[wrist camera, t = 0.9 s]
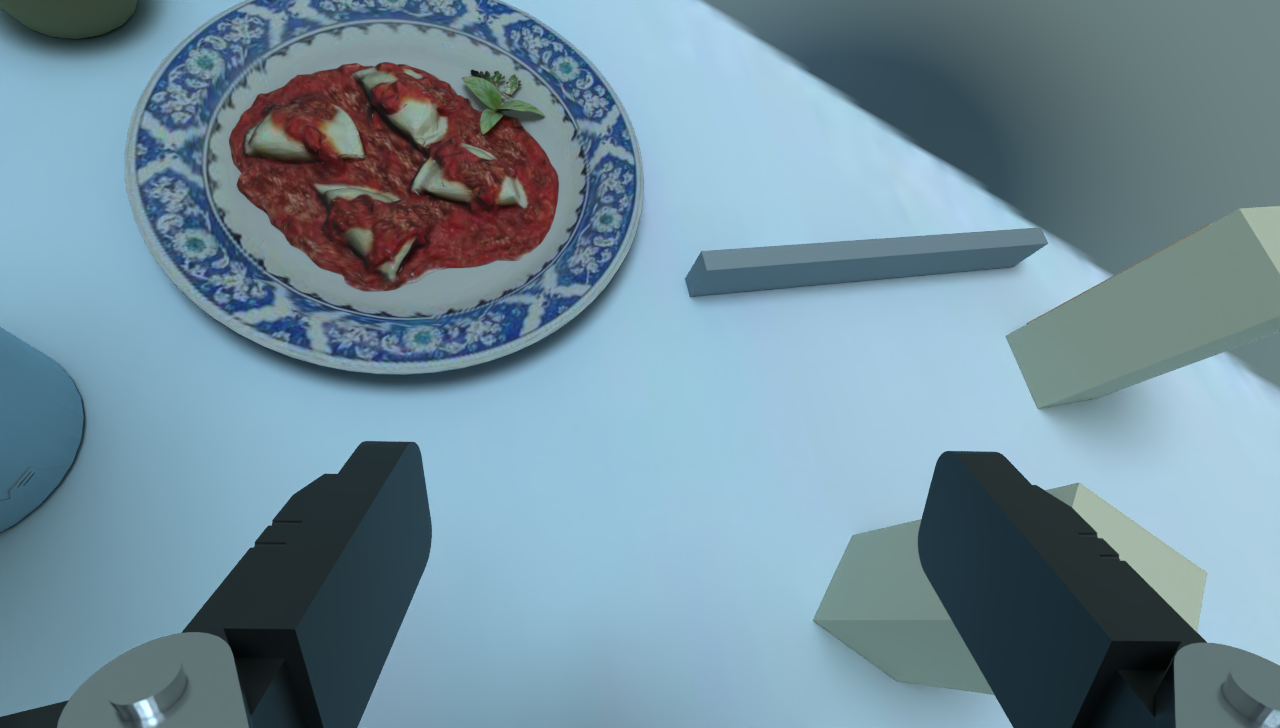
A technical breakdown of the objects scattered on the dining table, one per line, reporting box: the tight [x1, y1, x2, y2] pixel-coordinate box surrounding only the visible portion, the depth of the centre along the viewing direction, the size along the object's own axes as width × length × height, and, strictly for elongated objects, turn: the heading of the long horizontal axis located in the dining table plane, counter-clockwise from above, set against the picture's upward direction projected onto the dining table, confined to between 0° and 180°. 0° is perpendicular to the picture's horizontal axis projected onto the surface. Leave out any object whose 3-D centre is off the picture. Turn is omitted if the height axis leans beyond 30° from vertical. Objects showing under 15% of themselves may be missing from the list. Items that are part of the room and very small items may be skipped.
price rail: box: [685, 228, 1048, 297], centre depth 39 cm, size 24×1×3 cm, turn 102°
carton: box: [813, 483, 1207, 695], centre depth 26 cm, size 5×5×14 cm
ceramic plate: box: [125, 0, 644, 375], centre depth 34 cm, size 26×26×3 cm
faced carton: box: [1006, 206, 1280, 408], centre depth 35 cm, size 5×5×14 cm
